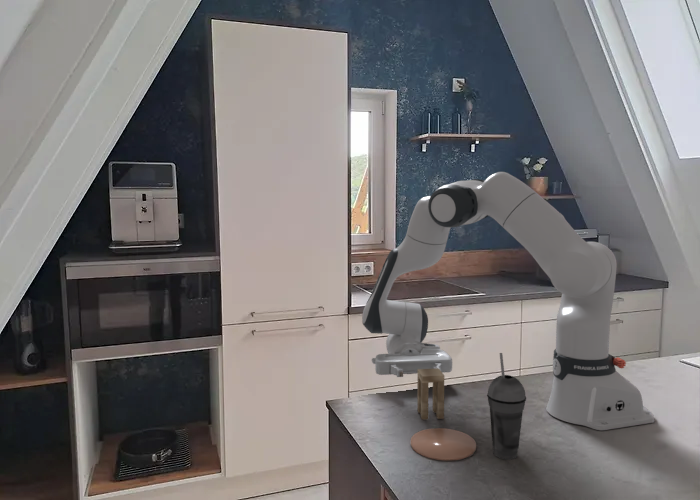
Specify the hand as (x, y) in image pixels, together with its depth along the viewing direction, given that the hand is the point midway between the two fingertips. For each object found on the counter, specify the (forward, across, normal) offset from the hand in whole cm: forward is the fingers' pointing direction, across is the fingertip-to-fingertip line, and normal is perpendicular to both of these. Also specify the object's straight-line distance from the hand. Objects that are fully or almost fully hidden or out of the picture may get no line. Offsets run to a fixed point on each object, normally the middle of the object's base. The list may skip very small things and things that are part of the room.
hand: (419, 373), depth 136 cm
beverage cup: (+32, +10, +6) cm, 34 cm away
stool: (+12, 0, +6) cm, 13 cm away
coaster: (+27, -1, +6) cm, 28 cm away
